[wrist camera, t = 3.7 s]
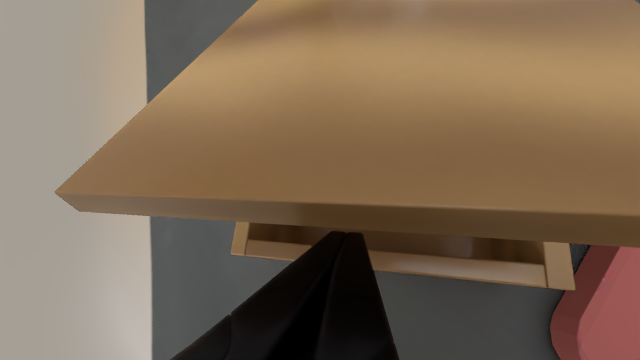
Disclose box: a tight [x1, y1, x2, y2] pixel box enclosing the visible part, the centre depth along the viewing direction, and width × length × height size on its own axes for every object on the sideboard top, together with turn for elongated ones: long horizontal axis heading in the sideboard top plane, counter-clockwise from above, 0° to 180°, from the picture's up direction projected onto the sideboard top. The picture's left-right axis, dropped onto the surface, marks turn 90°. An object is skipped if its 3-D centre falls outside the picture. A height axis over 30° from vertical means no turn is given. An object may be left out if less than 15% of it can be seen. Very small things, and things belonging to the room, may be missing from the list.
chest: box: [231, 222, 575, 291], centre depth 18 cm, size 16×14×8 cm
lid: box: [55, 0, 640, 248], centre depth 10 cm, size 16×14×1 cm
